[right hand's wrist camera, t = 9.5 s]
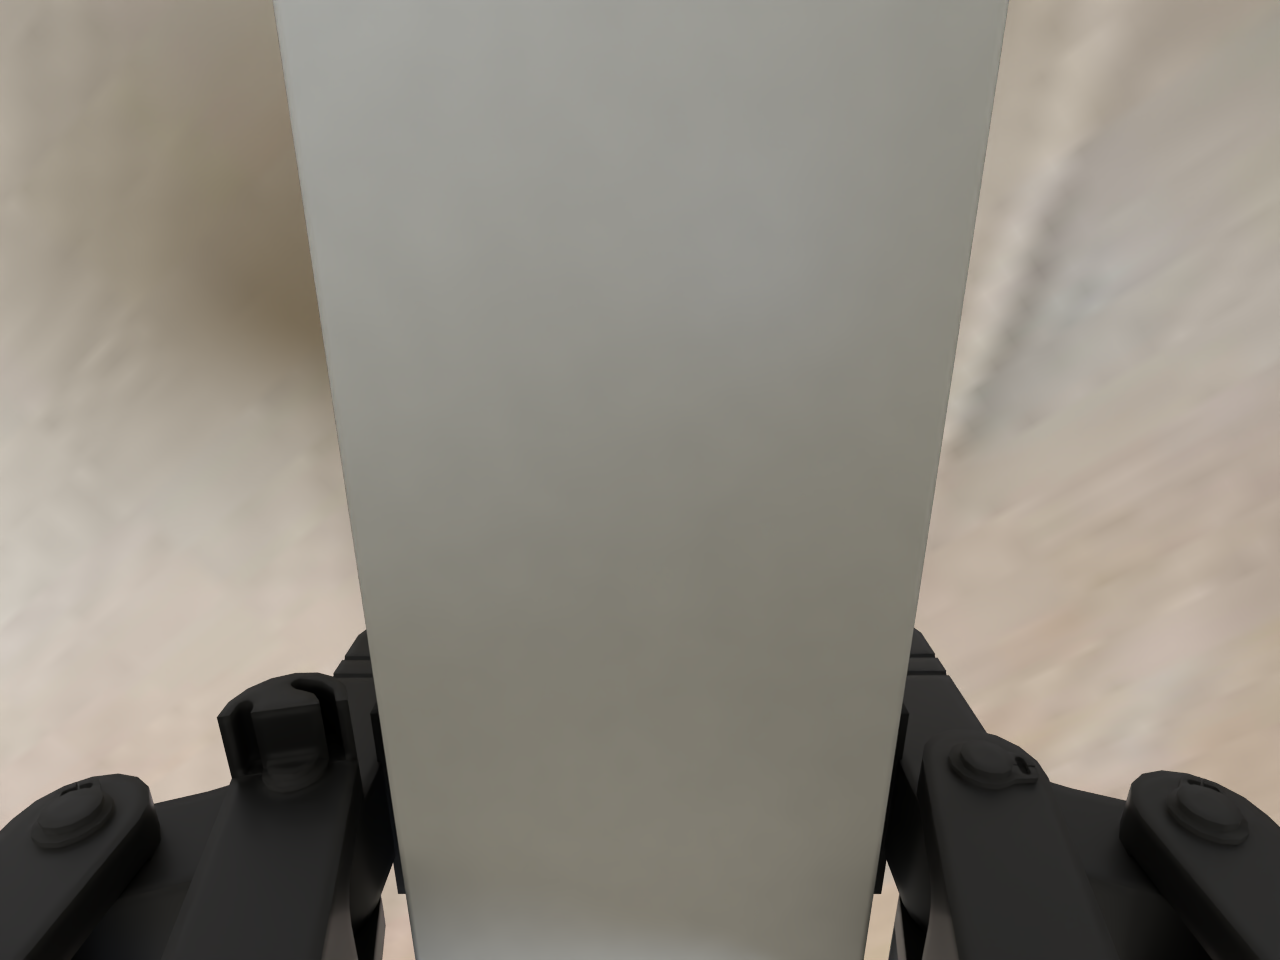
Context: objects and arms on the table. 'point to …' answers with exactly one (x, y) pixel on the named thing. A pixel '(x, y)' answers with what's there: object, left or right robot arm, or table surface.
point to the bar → (640, 441)
